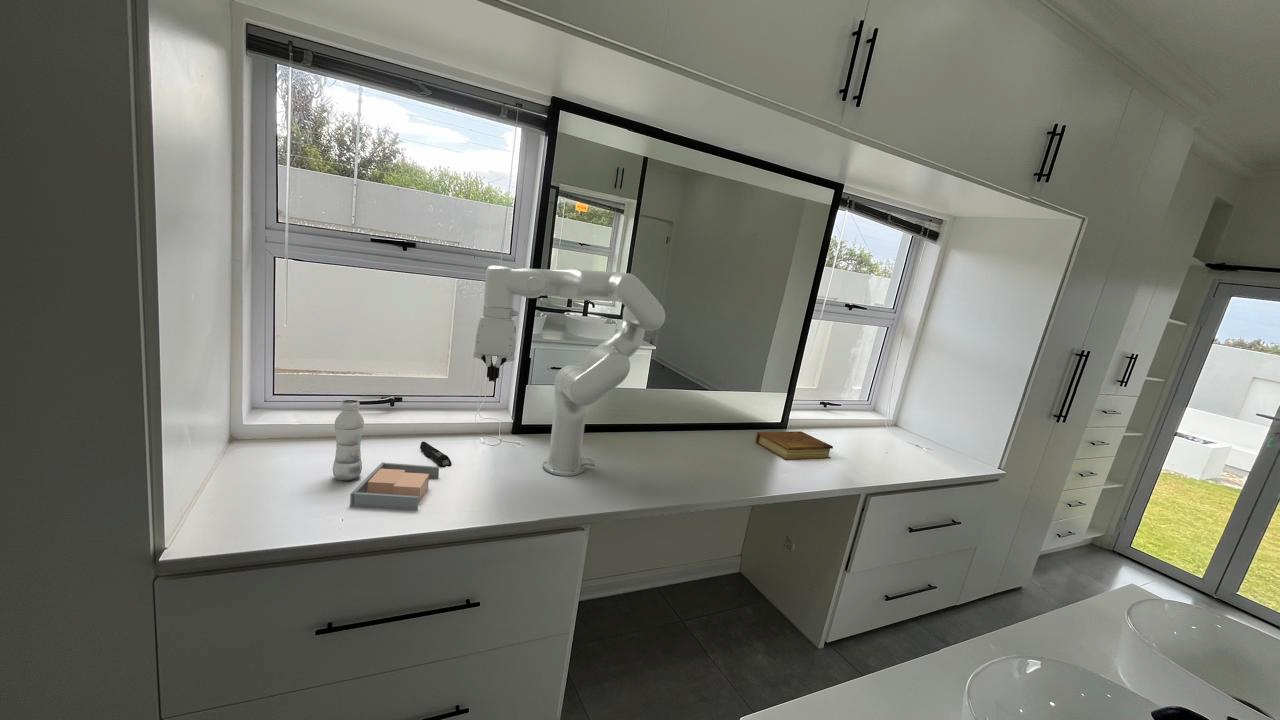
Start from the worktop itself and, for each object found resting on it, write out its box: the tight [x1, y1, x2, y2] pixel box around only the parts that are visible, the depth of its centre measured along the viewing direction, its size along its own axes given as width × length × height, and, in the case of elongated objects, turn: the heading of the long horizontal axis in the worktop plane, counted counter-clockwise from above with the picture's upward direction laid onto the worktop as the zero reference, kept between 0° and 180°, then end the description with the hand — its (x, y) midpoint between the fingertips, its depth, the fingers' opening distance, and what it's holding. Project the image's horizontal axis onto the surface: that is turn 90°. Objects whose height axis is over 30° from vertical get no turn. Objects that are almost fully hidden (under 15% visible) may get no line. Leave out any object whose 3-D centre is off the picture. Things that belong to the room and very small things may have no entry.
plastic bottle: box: [332, 399, 365, 481], centre depth 122 cm, size 6×7×20 cm
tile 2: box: [393, 472, 430, 503], centre depth 119 cm, size 6×8×4 cm
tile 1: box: [367, 468, 406, 495], centre depth 120 cm, size 6×8×4 cm
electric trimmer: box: [419, 441, 452, 468], centre depth 143 cm, size 4×16×3 cm, turn 46°
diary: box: [755, 430, 834, 461], centre depth 197 cm, size 23×19×6 cm
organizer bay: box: [349, 462, 440, 511], centre depth 120 cm, size 14×18×3 cm
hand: (492, 380), depth 133 cm, fingers closed
